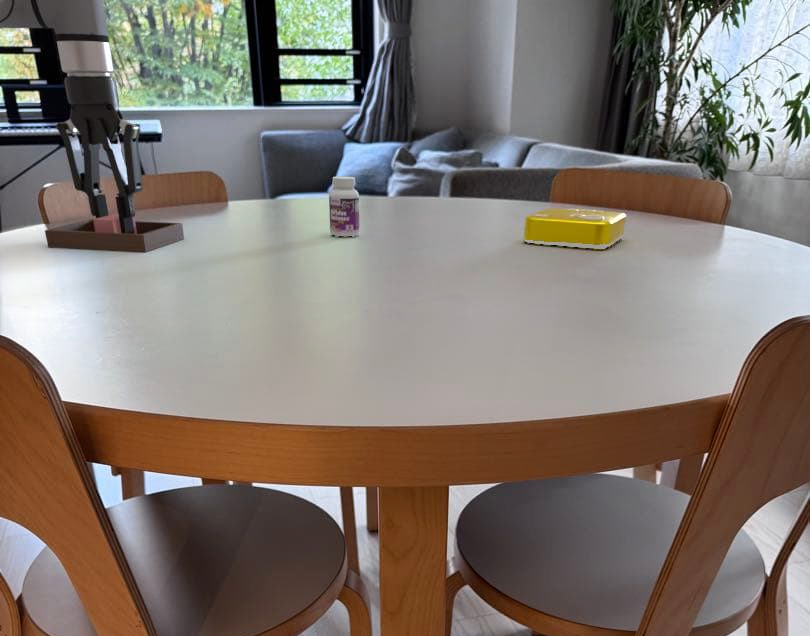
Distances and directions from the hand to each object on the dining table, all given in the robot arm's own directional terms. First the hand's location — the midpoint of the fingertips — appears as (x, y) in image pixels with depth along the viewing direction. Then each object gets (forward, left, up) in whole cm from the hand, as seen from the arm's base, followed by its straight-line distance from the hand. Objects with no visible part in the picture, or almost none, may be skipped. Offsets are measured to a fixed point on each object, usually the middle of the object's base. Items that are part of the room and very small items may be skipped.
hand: (117, 237), depth 128 cm
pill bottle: (+35, +18, -1) cm, 39 cm away
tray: (0, 0, -1) cm, 1 cm away
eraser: (0, 0, 0) cm, 0 cm away
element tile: (+76, +23, -1) cm, 79 cm away
